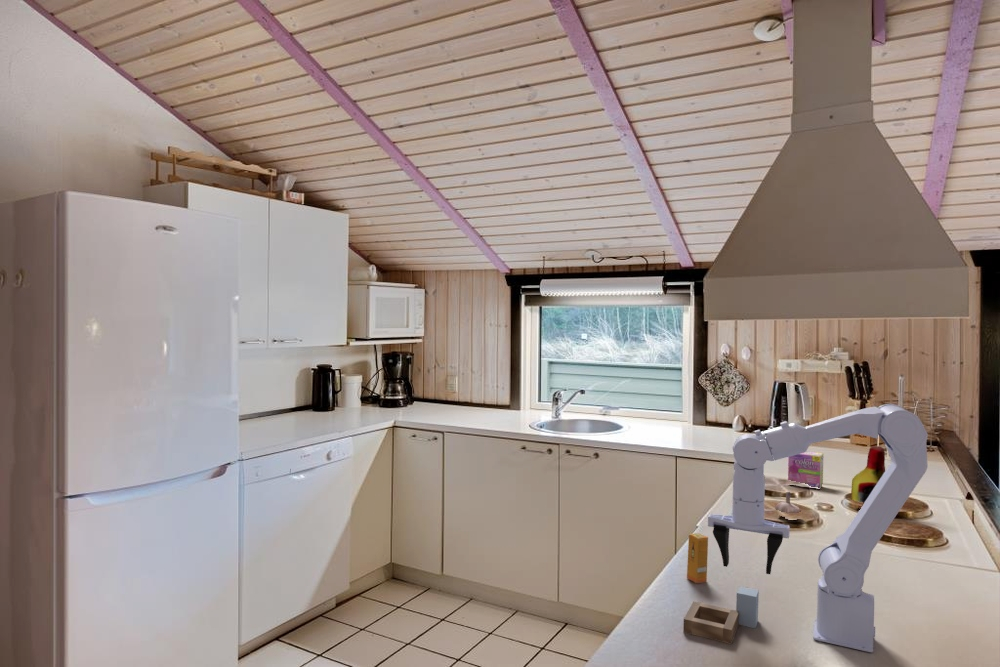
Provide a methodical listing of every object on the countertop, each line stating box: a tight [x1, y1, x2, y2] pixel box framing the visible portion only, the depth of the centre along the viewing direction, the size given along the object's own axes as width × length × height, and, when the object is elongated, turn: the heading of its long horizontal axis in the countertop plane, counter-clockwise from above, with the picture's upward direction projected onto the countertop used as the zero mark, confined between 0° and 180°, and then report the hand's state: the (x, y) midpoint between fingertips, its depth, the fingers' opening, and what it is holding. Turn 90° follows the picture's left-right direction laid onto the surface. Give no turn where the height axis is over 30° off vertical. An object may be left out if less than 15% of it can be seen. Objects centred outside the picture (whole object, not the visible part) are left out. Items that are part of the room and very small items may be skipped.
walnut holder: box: [682, 601, 739, 644], centre depth 122 cm, size 8×8×2 cm
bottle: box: [850, 445, 886, 503], centre depth 197 cm, size 12×6×20 cm, turn 50°
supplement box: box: [686, 533, 709, 584], centre depth 144 cm, size 3×3×10 cm
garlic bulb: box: [774, 491, 802, 513], centre depth 189 cm, size 8×7×8 cm
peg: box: [735, 585, 760, 629], centre depth 125 cm, size 4×4×6 cm
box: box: [787, 451, 824, 489], centre depth 226 cm, size 10×6×12 cm, turn 55°
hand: (747, 568), depth 125 cm, fingers open, 7 cm apart
